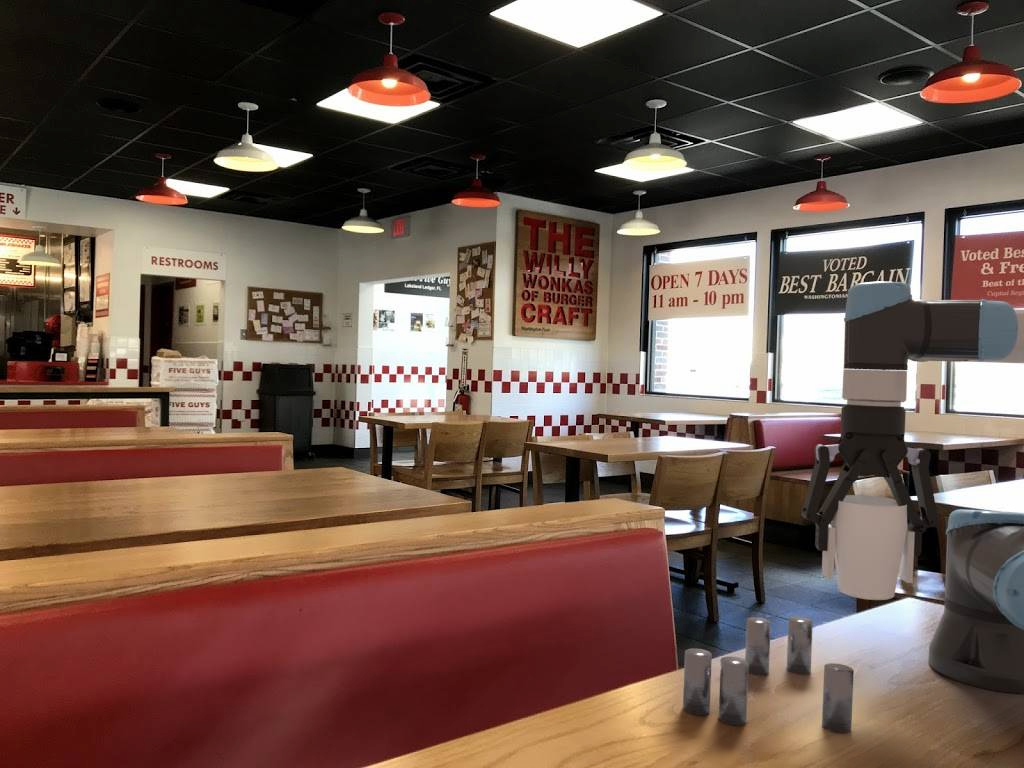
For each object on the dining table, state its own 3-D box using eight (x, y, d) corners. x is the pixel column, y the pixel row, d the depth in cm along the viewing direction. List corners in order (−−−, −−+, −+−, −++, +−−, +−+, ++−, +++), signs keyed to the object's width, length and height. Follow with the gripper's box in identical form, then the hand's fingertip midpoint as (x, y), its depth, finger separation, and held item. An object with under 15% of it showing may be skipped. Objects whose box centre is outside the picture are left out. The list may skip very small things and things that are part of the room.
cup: (913, 606, 98) (917, 508, 97) (835, 599, 99) (839, 504, 99) (893, 586, 107) (897, 497, 106) (822, 581, 108) (825, 493, 108)
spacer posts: (807, 666, 113) (809, 617, 113) (855, 734, 92) (857, 674, 92) (670, 657, 115) (672, 609, 115) (686, 721, 94) (688, 663, 94)
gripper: (949, 405, 105) (942, 575, 105) (779, 399, 107) (773, 566, 108) (976, 408, 97) (968, 591, 98) (793, 402, 100) (786, 580, 100)
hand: (866, 577), depth 103 cm, fingers closed on cup, 9 cm apart
